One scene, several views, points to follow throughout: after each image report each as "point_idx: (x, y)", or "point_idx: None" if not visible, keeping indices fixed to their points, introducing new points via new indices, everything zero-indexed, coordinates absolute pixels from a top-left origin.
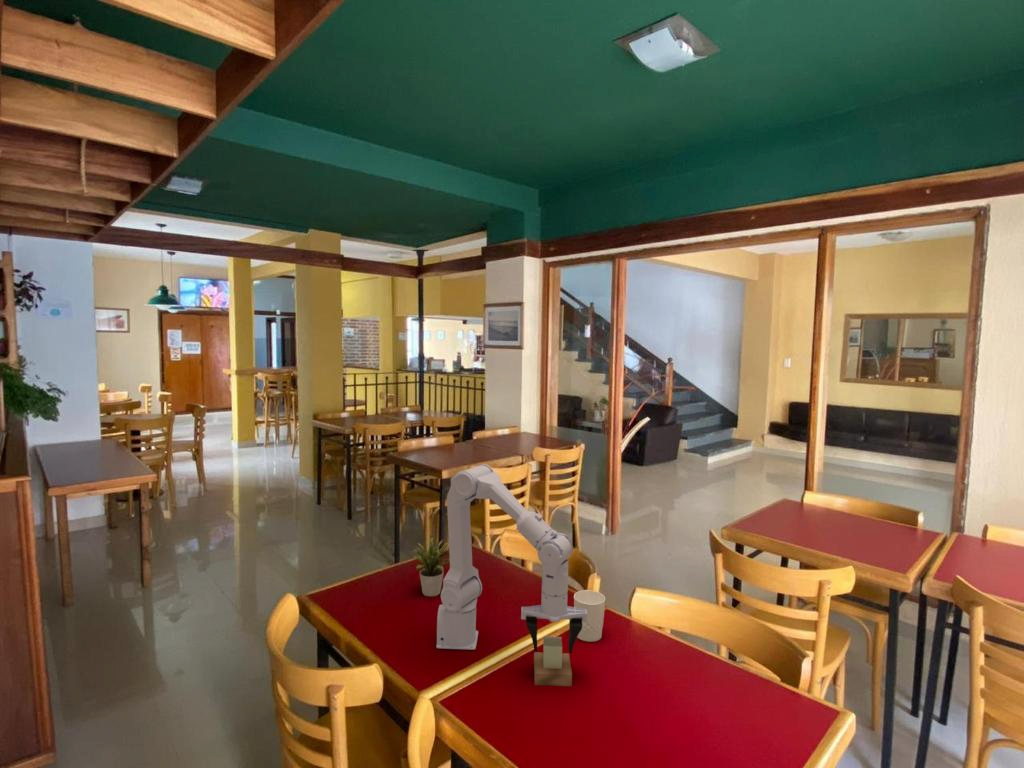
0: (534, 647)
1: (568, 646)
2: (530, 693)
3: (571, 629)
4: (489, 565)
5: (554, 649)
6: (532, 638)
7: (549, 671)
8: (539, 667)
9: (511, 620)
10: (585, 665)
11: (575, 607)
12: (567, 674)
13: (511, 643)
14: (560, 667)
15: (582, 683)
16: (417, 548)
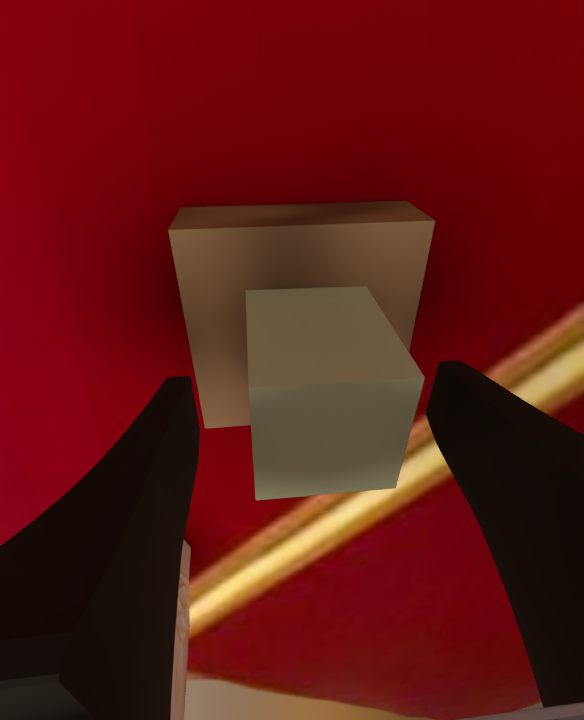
0: (483, 376)
1: (195, 432)
2: (450, 104)
3: (90, 595)
4: (429, 698)
5: (319, 365)
6: (565, 427)
7: (330, 255)
8: (391, 289)
9: (419, 567)
10: (121, 389)
11: (174, 690)
12: (203, 232)
13: (449, 474)
14: (254, 294)
15: (115, 241)
16: None
